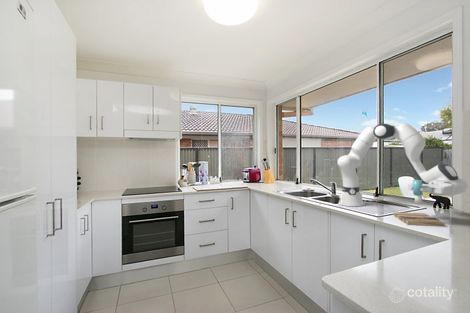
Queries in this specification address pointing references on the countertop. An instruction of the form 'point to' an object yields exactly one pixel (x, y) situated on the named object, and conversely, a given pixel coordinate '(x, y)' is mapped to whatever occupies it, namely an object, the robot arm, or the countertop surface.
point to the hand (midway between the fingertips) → (416, 189)
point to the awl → (417, 191)
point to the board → (418, 219)
